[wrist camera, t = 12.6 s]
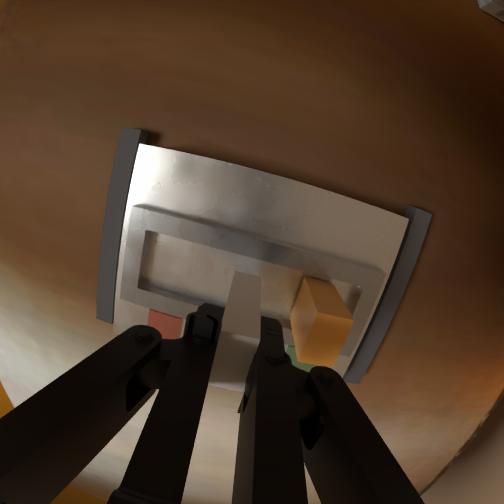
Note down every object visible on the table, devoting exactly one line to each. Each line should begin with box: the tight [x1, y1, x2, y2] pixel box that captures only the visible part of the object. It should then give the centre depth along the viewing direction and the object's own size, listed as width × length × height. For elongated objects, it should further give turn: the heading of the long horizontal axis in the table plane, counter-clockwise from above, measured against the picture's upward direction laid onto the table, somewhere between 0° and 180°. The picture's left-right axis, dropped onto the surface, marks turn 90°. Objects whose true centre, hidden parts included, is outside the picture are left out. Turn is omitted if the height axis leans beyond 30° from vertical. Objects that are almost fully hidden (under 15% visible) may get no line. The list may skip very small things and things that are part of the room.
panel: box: [113, 144, 409, 378], centre depth 21 cm, size 14×18×5 cm
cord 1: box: [96, 127, 149, 324], centre depth 22 cm, size 16×2×2 cm, turn 165°
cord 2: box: [343, 205, 432, 384], centre depth 23 cm, size 16×2×2 cm, turn 165°
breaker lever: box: [290, 276, 355, 368], centre depth 17 cm, size 3×2×5 cm, turn 165°
